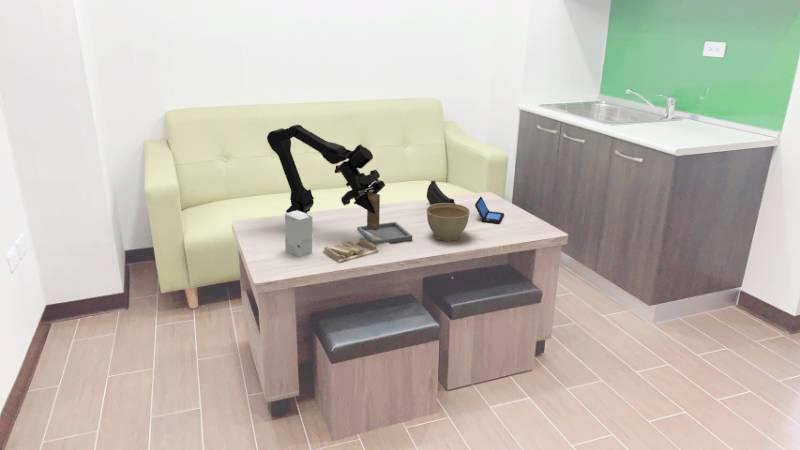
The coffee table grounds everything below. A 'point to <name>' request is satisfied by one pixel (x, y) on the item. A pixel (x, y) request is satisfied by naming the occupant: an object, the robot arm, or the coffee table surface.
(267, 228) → the coffee table surface
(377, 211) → the walnut block
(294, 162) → the robot arm
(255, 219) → the coffee table surface
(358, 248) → the offcut rack
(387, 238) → the tray
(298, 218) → the skincare box
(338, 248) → the offcut
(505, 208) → the coffee table surface
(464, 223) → the planter bowl
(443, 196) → the black curved fin
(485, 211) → the handheld game console
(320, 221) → the coffee table surface
